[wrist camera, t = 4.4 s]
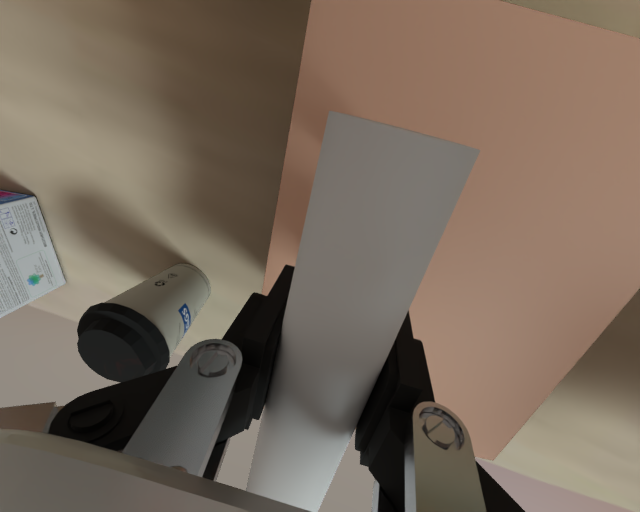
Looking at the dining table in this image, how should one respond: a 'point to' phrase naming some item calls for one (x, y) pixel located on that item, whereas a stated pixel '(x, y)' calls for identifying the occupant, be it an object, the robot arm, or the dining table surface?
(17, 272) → the ink cartridge box
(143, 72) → the dining table surface
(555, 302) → the flap
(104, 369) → the coffee cup
